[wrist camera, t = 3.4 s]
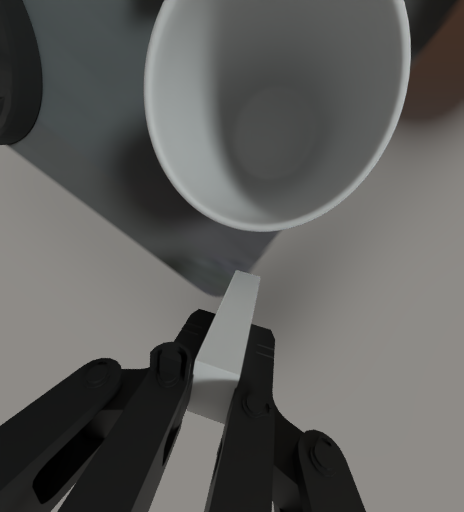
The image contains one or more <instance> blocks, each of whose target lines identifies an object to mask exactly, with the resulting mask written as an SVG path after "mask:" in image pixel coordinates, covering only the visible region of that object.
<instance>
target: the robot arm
mask: <svg viewBox="0 0 464 512" xmlns="http://www.w3.org/2000/svg"><path fill="white" fill-rule="evenodd" d="M41 94H42V72H41V63H40V56H39V51H38V46H37V42H36V38H35V34H34V31H33V28H32V24H31V21H30V19H29V16H28V13H27V11H26V8H25V6H24V3H23V1H22V0H0V145H6V144H11V143H14V142H16V141H18V140H20V139H21V138H23V137H24V136H25V135H26V134H27V133H28V132H29V131H30V129H31V128H32V126H33V124H34V122H35V120H36V118H37V115H38V112H39V108H40V102H41ZM260 278H261V277H259V276H256V275H252V274H249V273H245V272H241V271H238V270H236V271H235V274H234V276H233V278H232V280H231V282H230V285H229V287H228V289H227V291H226V293H225V296H224V298H223V300H222V302H221V304H220V307H219V309H218V311H217V313H216V314H214V313H211V312H208V311H205V310H201V309H198V310H197V311H195V312H194V313H192V314H191V315H190V317H189V318H188V320H187V322H186V324H185V325H184V326H183V328H182V330H181V331H180V333H179V334H178V336H177V337H176V339H175V341H174V342H167V343H163V344H161V345H158V346H156V347H155V348H154V349H153V350H152V351H151V352H150V367H149V368H145V369H121V366H120V364H118V362H117V361H116V360H113V359H111V358H100V359H96V360H93V361H91V362H89V363H87V364H86V365H84V366H82V367H81V368H79V369H78V370H77V371H75V372H74V373H72V374H71V375H70V376H69V377H67V378H66V379H64V380H63V381H61V382H60V383H59V384H57V385H56V386H55V387H53V388H52V389H51V390H49V391H48V392H46V393H45V394H44V395H42V396H41V397H40V398H38V399H37V400H35V401H34V402H32V403H31V404H30V405H28V406H27V407H26V408H24V409H23V410H22V411H20V412H19V413H17V414H16V415H15V416H13V417H12V418H10V419H9V420H8V421H6V422H5V423H4V424H2V425H1V426H0V512H51V510H52V509H53V508H54V507H55V506H56V505H57V504H58V502H59V501H60V500H61V499H62V497H64V496H65V494H66V493H67V492H68V491H69V490H70V489H71V487H72V486H73V485H74V484H75V483H76V484H75V485H74V487H73V489H72V490H71V492H70V493H69V495H68V496H67V498H66V500H65V501H64V502H63V504H62V505H61V507H60V509H59V510H58V512H148V511H149V508H150V506H151V503H152V501H153V498H154V496H155V493H156V490H157V488H158V485H159V483H160V480H161V477H162V475H163V472H164V469H165V467H166V465H167V462H168V460H169V457H170V454H171V452H172V449H173V447H174V444H175V441H176V439H177V436H178V434H179V431H180V429H181V424H182V419H183V416H184V414H185V411H186V409H187V410H188V411H190V412H193V413H195V414H198V415H201V416H204V417H206V418H209V419H212V420H214V421H217V422H220V423H223V424H225V426H224V431H223V435H222V438H221V442H220V445H219V448H218V452H217V459H216V463H215V467H214V471H213V476H212V480H211V484H210V489H209V493H208V497H207V501H206V506H205V511H204V512H271V511H272V501H273V503H274V512H366V511H365V508H364V506H363V503H362V501H361V498H360V495H359V493H358V490H357V488H356V485H355V482H354V480H353V477H352V474H351V472H350V470H349V467H348V464H347V462H346V459H345V457H344V455H343V454H342V451H341V450H340V448H339V447H338V446H337V444H336V443H335V442H334V441H333V440H332V439H331V438H330V437H329V436H327V435H326V434H324V433H323V432H320V431H317V430H309V431H306V432H305V433H304V432H302V431H301V430H300V429H298V428H297V427H296V426H294V425H293V424H292V423H290V422H289V421H288V420H286V419H285V418H284V417H283V416H282V414H281V413H280V412H279V411H278V409H277V407H276V405H275V403H274V400H273V394H272V388H273V368H274V349H275V348H274V347H275V338H274V336H273V334H272V331H271V330H269V329H266V328H263V327H259V326H256V325H253V324H251V321H252V316H253V312H254V307H255V302H256V297H257V292H258V287H259V282H260ZM187 406H188V407H187Z"/></svg>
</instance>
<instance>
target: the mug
mask: <svg viewBox="0 0 464 512" xmlns="http://www.w3.org/2000/svg"><path fill="white" fill-rule="evenodd" d="M410 62H411V38H410V29H409V21H408V16H407V11H406V7H405V2H404V0H164V2H163V4H162V6H161V9H160V11H159V13H158V16H157V18H156V21H155V24H154V27H153V30H152V33H151V37H150V41H149V46H148V50H147V56H146V62H145V71H144V108H145V116H146V122H147V127H148V132H149V136H150V139H151V142H152V146H153V148H154V151H155V154H156V156H157V159H158V161H159V163H160V165H161V167H162V169H163V171H164V172H165V174H166V176H167V178H168V179H169V180H170V182H171V183H172V185H173V186H174V188H175V189H176V190H177V191H178V192H179V194H180V195H181V196H182V197H183V198H184V199H185V200H186V201H187V202H188V203H189V204H190V205H191V206H193V207H194V208H195V209H196V210H198V211H199V212H200V213H202V214H203V215H205V216H207V217H208V218H210V219H212V220H214V221H216V222H218V223H220V224H223V225H225V226H228V227H231V228H235V229H239V230H245V231H253V232H271V231H279V230H284V229H288V228H292V227H295V226H299V225H302V224H304V223H307V222H309V221H311V220H314V219H315V218H317V217H319V216H321V215H323V214H325V213H326V212H327V211H329V210H331V209H332V208H334V207H335V206H336V205H338V204H339V203H340V202H342V201H343V200H344V199H345V198H346V197H348V196H349V195H350V194H351V193H352V192H353V191H354V190H355V189H356V188H357V187H358V186H359V185H360V184H361V183H362V182H363V180H364V179H365V178H366V177H367V175H368V174H369V173H370V171H371V170H372V169H373V168H374V166H375V164H376V163H377V162H378V160H379V159H380V157H381V156H382V154H383V152H384V150H385V148H386V147H387V145H388V143H389V141H390V139H391V137H392V135H393V132H394V130H395V128H396V125H397V123H398V120H399V117H400V114H401V111H402V108H403V104H404V100H405V96H406V92H407V86H408V81H409V74H410Z"/></svg>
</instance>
